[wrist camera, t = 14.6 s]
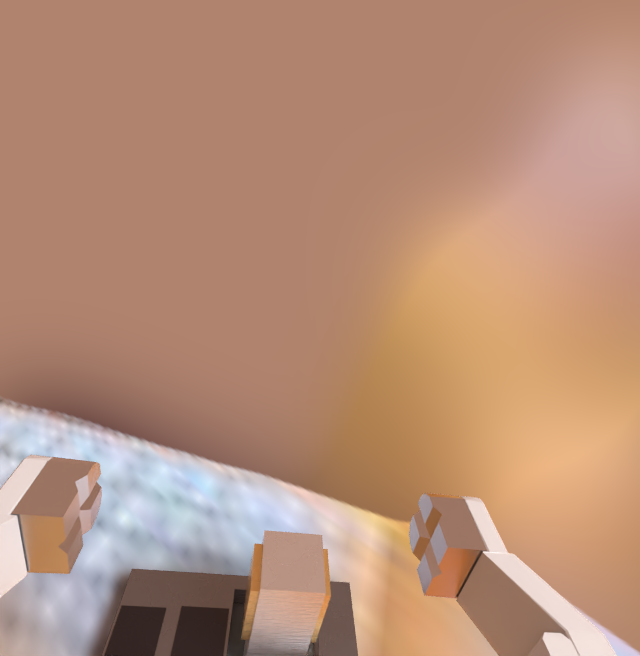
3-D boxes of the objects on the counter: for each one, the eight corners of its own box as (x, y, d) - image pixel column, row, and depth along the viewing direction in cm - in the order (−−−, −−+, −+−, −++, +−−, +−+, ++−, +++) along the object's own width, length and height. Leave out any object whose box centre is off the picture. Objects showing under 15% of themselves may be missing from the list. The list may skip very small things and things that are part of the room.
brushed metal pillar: (233, 680, 34) (251, 588, 28) (240, 620, 38) (256, 529, 32) (304, 683, 34) (334, 593, 29) (303, 623, 38) (329, 535, 33)
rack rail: (84, 722, 30) (82, 708, 29) (132, 582, 39) (132, 567, 38) (358, 727, 33) (365, 714, 32) (344, 595, 41) (349, 582, 41)
